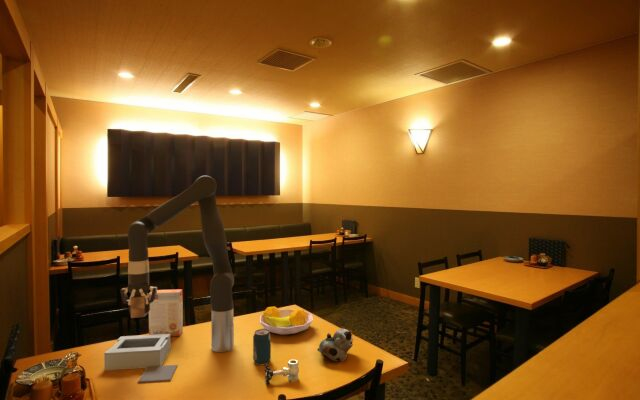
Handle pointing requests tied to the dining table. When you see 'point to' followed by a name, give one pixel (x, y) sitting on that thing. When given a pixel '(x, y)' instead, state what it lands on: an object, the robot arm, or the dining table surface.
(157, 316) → the cracker box
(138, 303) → the walnut block
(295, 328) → the fruit bowl
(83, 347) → the dining table surface
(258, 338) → the soda can
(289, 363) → the valve
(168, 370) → the rubber pad
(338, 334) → the grey metal pump housing
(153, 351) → the box
